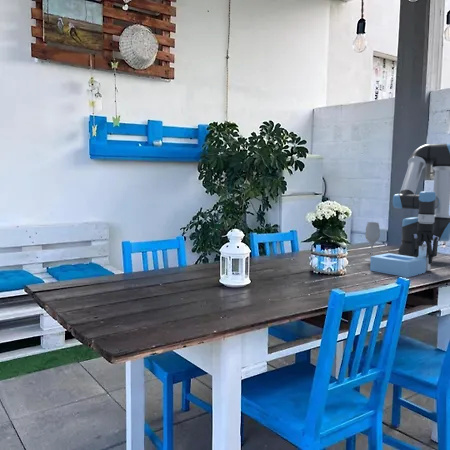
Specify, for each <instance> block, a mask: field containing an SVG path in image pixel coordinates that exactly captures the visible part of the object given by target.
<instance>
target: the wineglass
mask: <svg viewBox="0 0 450 450" xmlns="http://www.w3.org/2000/svg"><path fill="white" fill-rule="evenodd" d="M364 234H365V235H364V236H365V239H366V241H367V242H368V243H369V244H370V248H371V249H370V250H371V251H370V257H369V258H366V259H364V261H365V262H369V263H370V262H371V256H373V249H374V248H373V247H374V244H376V243H377V242H378V241H379V240H380V237H381V232H380V223H379V222H373V221H371V222H367V223H366V227H365V233H364Z"/></svg>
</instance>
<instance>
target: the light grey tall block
mask: <svg viewBox="0 0 450 450" xmlns="http://www.w3.org/2000/svg"><path fill="white" fill-rule="evenodd" d="M427 257H428V251H427V244H426V243H423V244H422V246H419V255H418V258H425V259H426V262H427ZM425 272H427V271H426V269H425Z"/></svg>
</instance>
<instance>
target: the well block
mask: <svg viewBox="0 0 450 450" xmlns="http://www.w3.org/2000/svg"><path fill="white" fill-rule="evenodd" d="M370 258H371V262H369V263H370V269H369V271H372V272H376V273H377V272H378V273H383V274H388V275H395V276H399V277H405V278H410V277H416V276H417V275H418V274H419V275H421V274H422V273H423V274H425V273H426V271H425V269H426V259H425V258H418V257H412V256H405V255H398V253H397V254H395V253H391V252H387V253H383V254H382V253H381V254H376V255H372V256H371V255H370Z"/></svg>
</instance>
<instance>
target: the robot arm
mask: <svg viewBox="0 0 450 450" xmlns="http://www.w3.org/2000/svg"><path fill="white" fill-rule="evenodd" d="M426 166H432V167H431V168H432V169H433V171H434V176H433V178H434V179H433V190H432V191H420V192H419V194H416V191H417V189H418V186H419V182H420V179H421V176H422V172H423V169H425V167H426ZM392 206H393V208H394V209H401V210H403V209H405V210H418V211H417V213H418V214H417V216H412V217H406V218H403V219H402V222H401V223H402V225H401V244H400V246H399V247H398V248H399V249H398V252H397V254H398V255H405V256H412V257H418V255H419V246H422V244H427V251H428V257H427V262H426V271H425V272H428V271H431V265H432V264H433V258H434V257H437V255H438V247H439V242H450V143H426V144H422V145H420V146H419V147H418V148H416V149H415V150H413V152H411V154H410V156H409V158H408V160H407V170H406V172H405V176H404V179H403V181H402V186H401V188H400V190H399V193H394V194H393V197H392Z"/></svg>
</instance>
